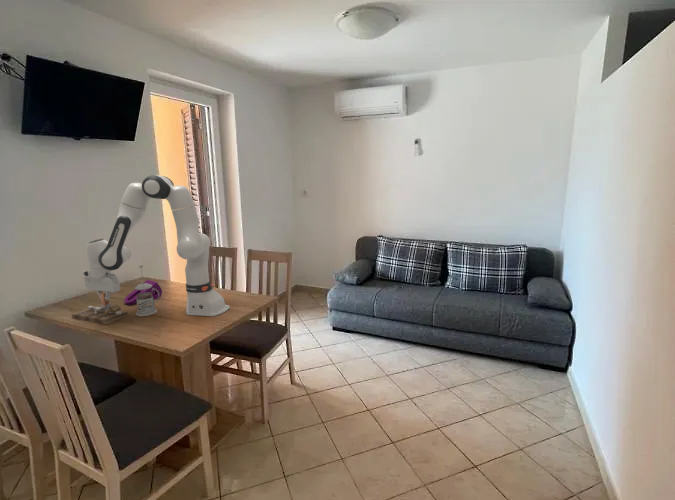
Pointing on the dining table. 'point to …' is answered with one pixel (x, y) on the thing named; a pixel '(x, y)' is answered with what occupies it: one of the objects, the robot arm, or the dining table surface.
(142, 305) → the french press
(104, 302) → the sliding divider leg
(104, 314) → the gauge board
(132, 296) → the purple curved piece
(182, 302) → the dining table surface
